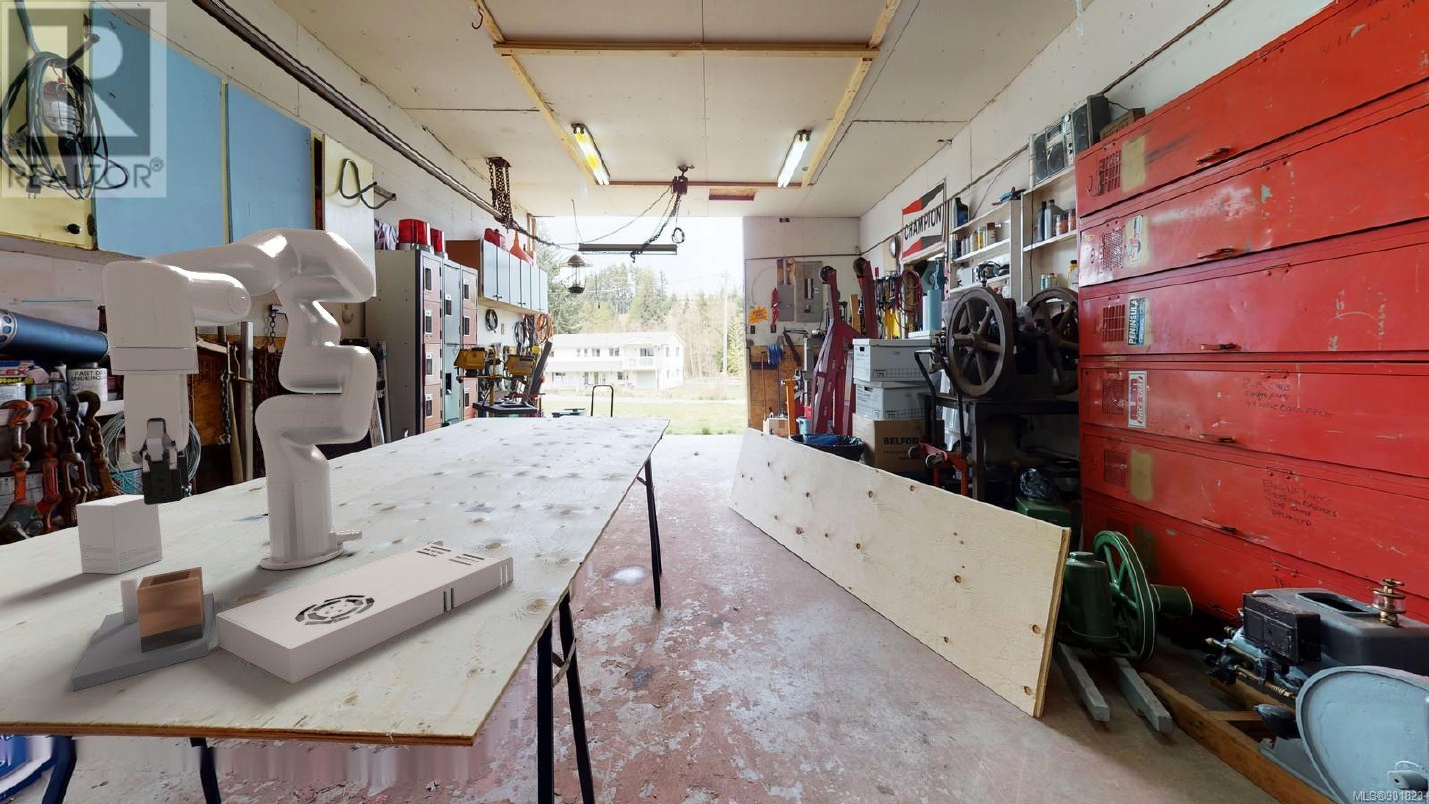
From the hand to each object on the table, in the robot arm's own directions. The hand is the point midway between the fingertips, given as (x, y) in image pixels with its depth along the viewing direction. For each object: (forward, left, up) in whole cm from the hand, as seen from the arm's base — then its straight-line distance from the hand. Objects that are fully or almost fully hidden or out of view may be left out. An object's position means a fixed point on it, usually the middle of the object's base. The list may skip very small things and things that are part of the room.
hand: (168, 494), depth 67 cm
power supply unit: (-22, +6, -22) cm, 32 cm away
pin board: (+3, -5, -21) cm, 21 cm away
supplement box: (+10, -46, -21) cm, 51 cm away
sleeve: (0, 0, -19) cm, 19 cm away
